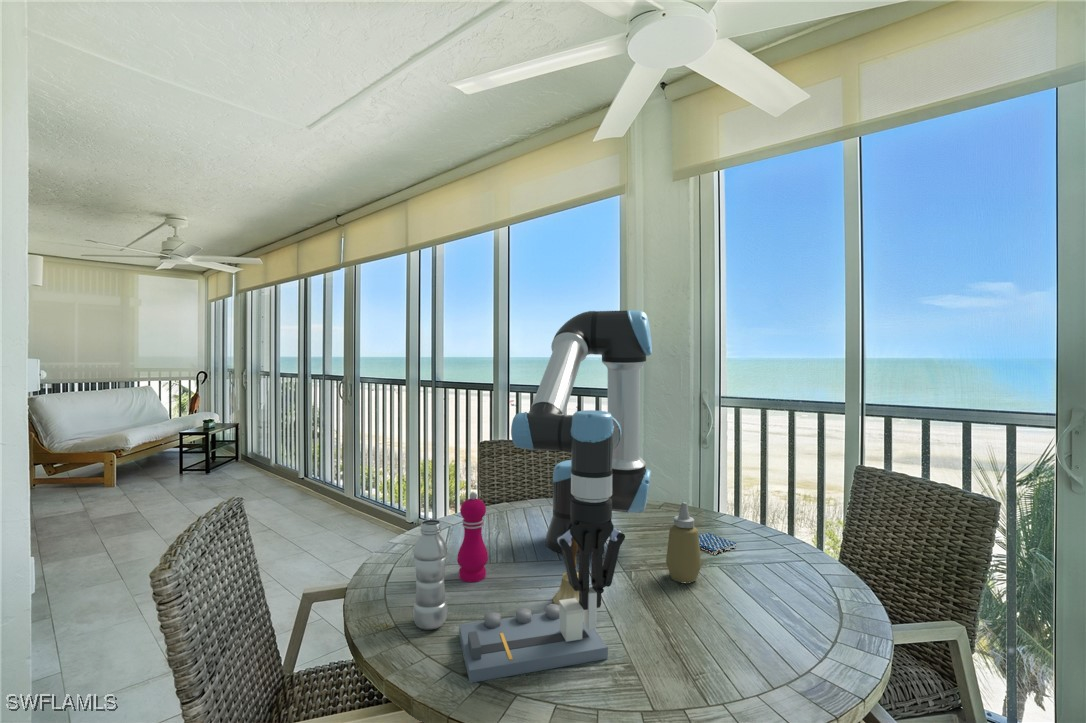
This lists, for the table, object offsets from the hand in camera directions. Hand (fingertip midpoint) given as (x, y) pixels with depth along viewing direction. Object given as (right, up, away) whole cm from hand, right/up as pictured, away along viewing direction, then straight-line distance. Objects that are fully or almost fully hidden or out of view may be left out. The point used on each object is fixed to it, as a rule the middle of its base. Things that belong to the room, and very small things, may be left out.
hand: (589, 625), depth 90 cm
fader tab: (-4, -1, -1) cm, 4 cm away
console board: (-11, -3, -1) cm, 11 cm away
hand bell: (-2, -4, +16) cm, 17 cm away
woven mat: (+38, -4, +48) cm, 62 cm away
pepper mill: (-25, -3, +27) cm, 37 cm away
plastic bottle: (-30, -3, +6) cm, 31 cm away
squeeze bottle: (+25, -4, +27) cm, 37 cm away
